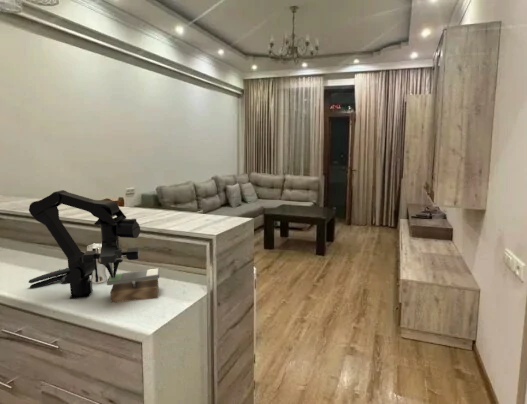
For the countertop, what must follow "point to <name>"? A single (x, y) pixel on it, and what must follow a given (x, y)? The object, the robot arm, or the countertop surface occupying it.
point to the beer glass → (97, 265)
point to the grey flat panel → (134, 276)
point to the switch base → (134, 290)
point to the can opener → (51, 280)
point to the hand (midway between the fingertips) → (113, 277)
